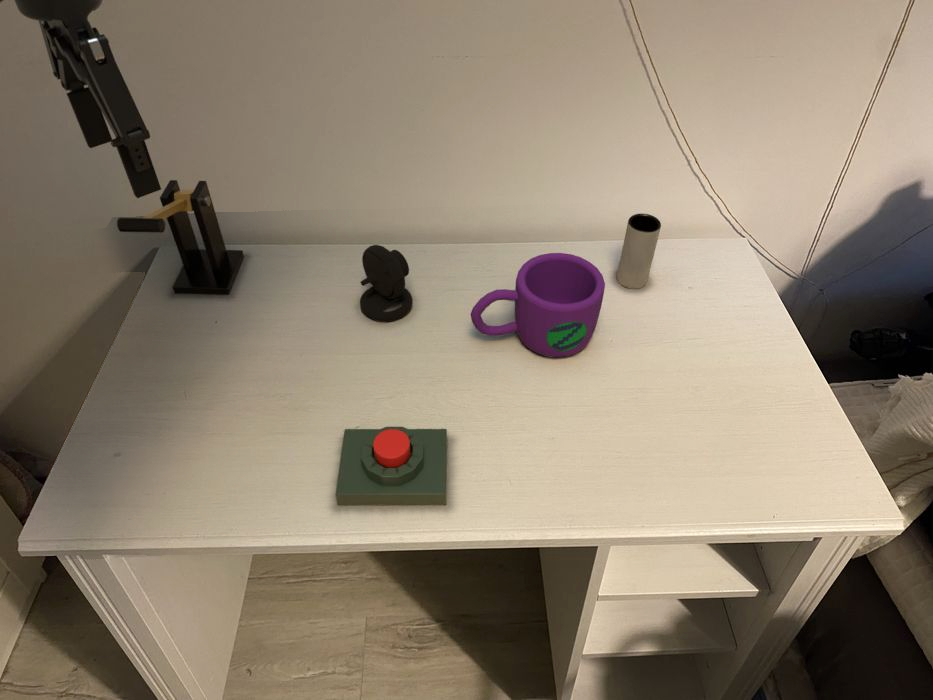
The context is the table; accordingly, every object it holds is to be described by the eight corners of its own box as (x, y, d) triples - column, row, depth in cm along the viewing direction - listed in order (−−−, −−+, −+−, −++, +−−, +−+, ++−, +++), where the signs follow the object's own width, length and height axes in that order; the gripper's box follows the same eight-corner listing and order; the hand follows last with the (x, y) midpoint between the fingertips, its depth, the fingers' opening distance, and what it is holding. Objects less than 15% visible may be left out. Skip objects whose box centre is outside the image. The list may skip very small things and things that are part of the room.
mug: (581, 302, 103) (590, 246, 95) (606, 358, 95) (618, 302, 88) (462, 316, 100) (463, 260, 93) (478, 375, 92) (479, 319, 85)
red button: (373, 467, 78) (371, 458, 77) (376, 438, 81) (374, 429, 79) (409, 467, 78) (408, 458, 77) (411, 438, 81) (410, 428, 79)
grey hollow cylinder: (613, 270, 108) (624, 214, 100) (642, 268, 108) (655, 212, 101) (621, 290, 105) (633, 233, 97) (650, 288, 105) (665, 231, 98)
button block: (337, 505, 79) (333, 485, 76) (346, 440, 85) (342, 419, 82) (446, 505, 79) (445, 484, 76) (447, 440, 85) (446, 419, 82)
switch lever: (160, 237, 84) (157, 217, 83) (118, 236, 84) (115, 216, 83) (209, 207, 99) (207, 190, 98) (173, 206, 99) (171, 189, 98)
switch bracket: (229, 294, 103) (203, 209, 92) (174, 293, 103) (142, 207, 93) (244, 256, 109) (221, 171, 99) (192, 254, 109) (164, 170, 99)
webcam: (424, 306, 102) (421, 251, 94) (383, 331, 98) (377, 275, 91) (389, 281, 106) (385, 225, 98) (349, 303, 102) (341, 247, 95)
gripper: (141, -8, 61) (203, 202, 76) (42, -75, 74) (112, 116, 89) (51, 13, 58) (135, 229, 73) (-36, -61, 71) (51, 135, 86)
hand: (123, 167), depth 81 cm, fingers open, 13 cm apart
